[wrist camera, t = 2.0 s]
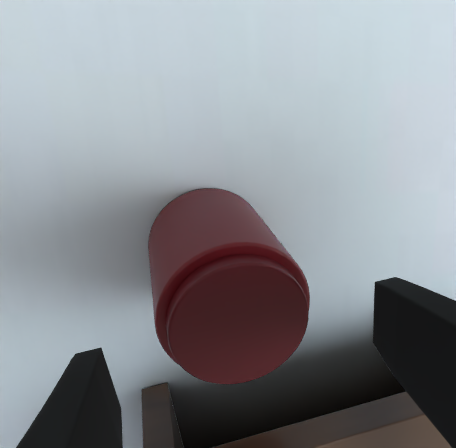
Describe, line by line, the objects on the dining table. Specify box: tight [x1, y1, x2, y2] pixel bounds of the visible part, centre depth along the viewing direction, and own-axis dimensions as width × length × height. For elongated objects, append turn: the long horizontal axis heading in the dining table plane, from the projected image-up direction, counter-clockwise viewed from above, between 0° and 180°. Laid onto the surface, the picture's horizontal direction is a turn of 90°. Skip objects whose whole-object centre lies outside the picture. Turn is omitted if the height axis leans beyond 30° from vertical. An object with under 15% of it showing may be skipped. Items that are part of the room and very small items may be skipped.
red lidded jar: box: [148, 189, 310, 384], centre depth 14 cm, size 5×5×6 cm
